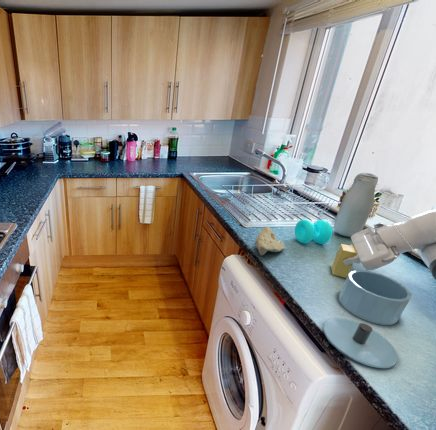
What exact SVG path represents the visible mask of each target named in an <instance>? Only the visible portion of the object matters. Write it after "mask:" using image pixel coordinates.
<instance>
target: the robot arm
mask: <svg viewBox="0 0 436 430" xmlns="http://www.w3.org/2000/svg"><path fill="white" fill-rule="evenodd" d="M350 239H351V242H352V243H351V244H349V245H350V246H354V247H355V249H356V252H357V256H354V257H353V258H348V257H347V258H345V259H343V263H344V264H345V265H349V264H353V265H357V264H361V265H362V266H363V268H364V269H365V271H374V270H377V269H379V268H382V267H385V266H387V265H389V264H391V263H393V262H394V261H395V260H396V259H397V258H398V257H399V256H400V255H401V254H404V253H407V252H410V251H413V250H416V251H417V254H418V255H419V257H420V258H421V260H422V261H423V263H424V264H425V265H426V266H427V268H428V269H429V272H430V274H431V276H432V277H433V278H434V280H436V208H435V209H431V210H430V209H429V210H427V211H424V212H421V213H419V214H416V215H413V216H411V217H409V218H407V219H405V220H404V221H401V222H395V223H393V224H385V223H382V222H378V223H375V224H373V225H372V226H370V227H367V228H363V230H362V231H360V232H357V233H355V234H353V235H352V236H351V237H350Z"/></svg>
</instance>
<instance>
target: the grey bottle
mask: <svg viewBox="0 0 436 430" xmlns="http://www.w3.org/2000/svg"><path fill="white" fill-rule="evenodd" d="M378 182H379V176H377V175H376V174H373V173H369V172H360V173H357V174H356V176H355V177H354V179H353V183H352V185H351V186H350V187H349V189H348V190H347V192H346V193H345V194H344V196H343V197H342V199H341V202H340V205H339V208H338V212H337V214H336V216H335V219H334V222H333V223H334V224H333V228H334V232H336V233H337V234H338V235H340V236H343V237H349V238H351V236H352V235H353V234H355V233H357V232H360V231H362V230H364V229H365V226H366V223H367V221H368V220H369V216H370V214H371V212H372V210H373V208H374V204H375V191H376V186H377V184H378Z"/></svg>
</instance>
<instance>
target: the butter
mask: <svg viewBox="0 0 436 430" xmlns="http://www.w3.org/2000/svg"><path fill="white" fill-rule="evenodd" d="M350 245H351V244H345V243H340V245H339V246H338V249H337V251H336V254H335V257H334V259H333V262H332V264H331V266H330V268H331V273H332V276H336V277H337V276H338V277H340V278H344V279H347V276H348V274H349V273H350V272H351V269H352V267H353V265H354V264H349V265H345V264H344V263H343V259H345V258H347V257H348V258H353V257H354V256H357V252H356V249H355V247H354V246H350Z"/></svg>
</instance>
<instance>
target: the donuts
mask: <svg viewBox="0 0 436 430" xmlns="http://www.w3.org/2000/svg"><path fill="white" fill-rule="evenodd" d="M294 236H295V239H296V240H297V241H298V242H299V243H301V244H308V243H311V242H312V240H313V241H314V242H315V243H317V244H318V245H326V244H327V243H329V242H330V240H331V239H332V237H333V227H332V225H331V223H329V221H327V220H325V219H318V220H316V221H315V222H314V223H313V222H311V221H310V219H307V218H302V219H300V220H298V221H297V222H296V224H295V227H294Z"/></svg>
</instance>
